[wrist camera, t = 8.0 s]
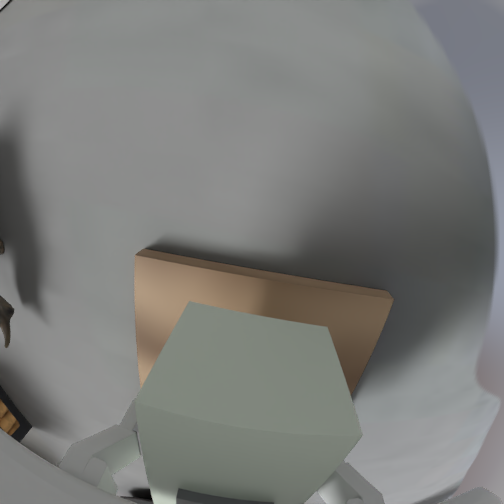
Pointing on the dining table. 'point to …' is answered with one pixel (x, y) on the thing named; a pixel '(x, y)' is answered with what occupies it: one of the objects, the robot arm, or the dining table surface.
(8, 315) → the rhino figurine
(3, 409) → the ammunition clip
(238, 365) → the block
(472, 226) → the dining table surface
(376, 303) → the board
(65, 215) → the dining table surface
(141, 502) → the casserole
